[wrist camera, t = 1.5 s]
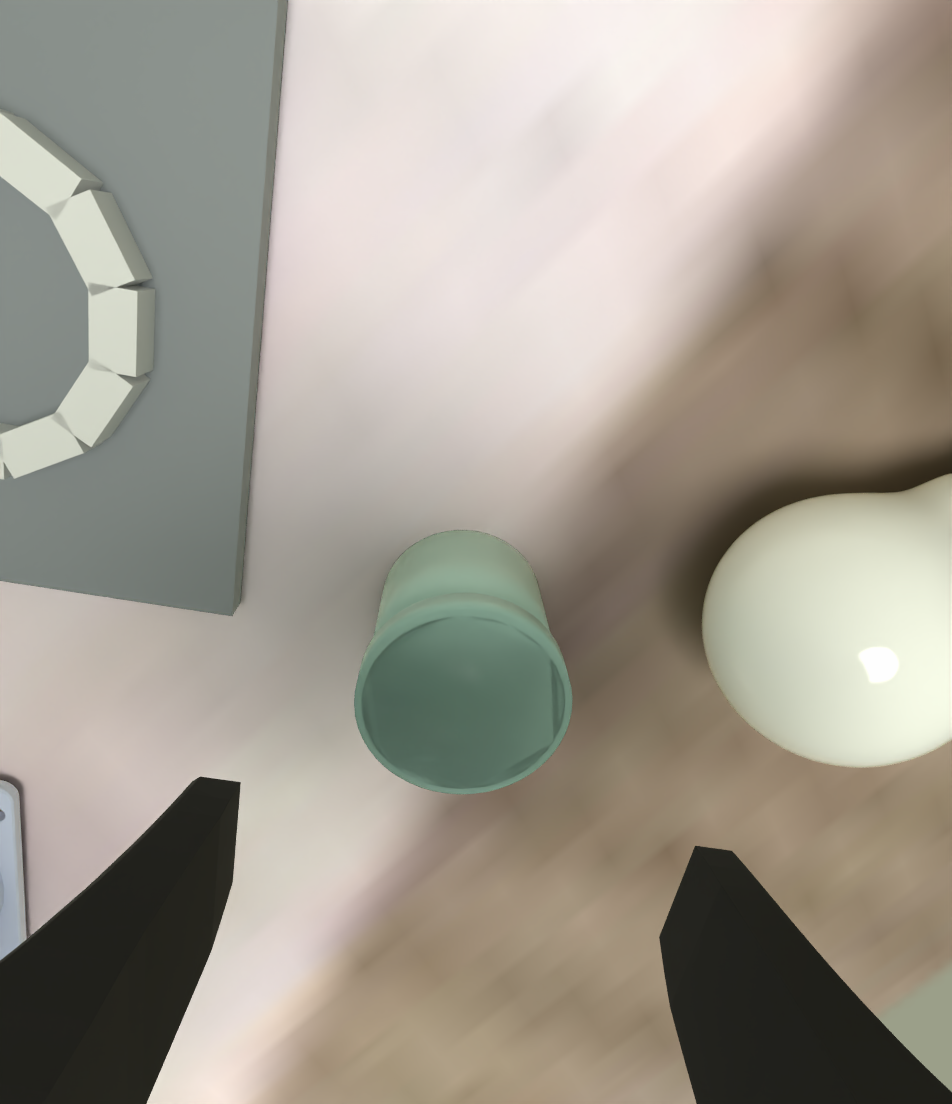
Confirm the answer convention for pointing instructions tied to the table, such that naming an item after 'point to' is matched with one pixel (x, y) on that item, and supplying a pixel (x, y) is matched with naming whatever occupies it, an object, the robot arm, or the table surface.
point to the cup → (462, 668)
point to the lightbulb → (840, 625)
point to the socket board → (133, 290)
